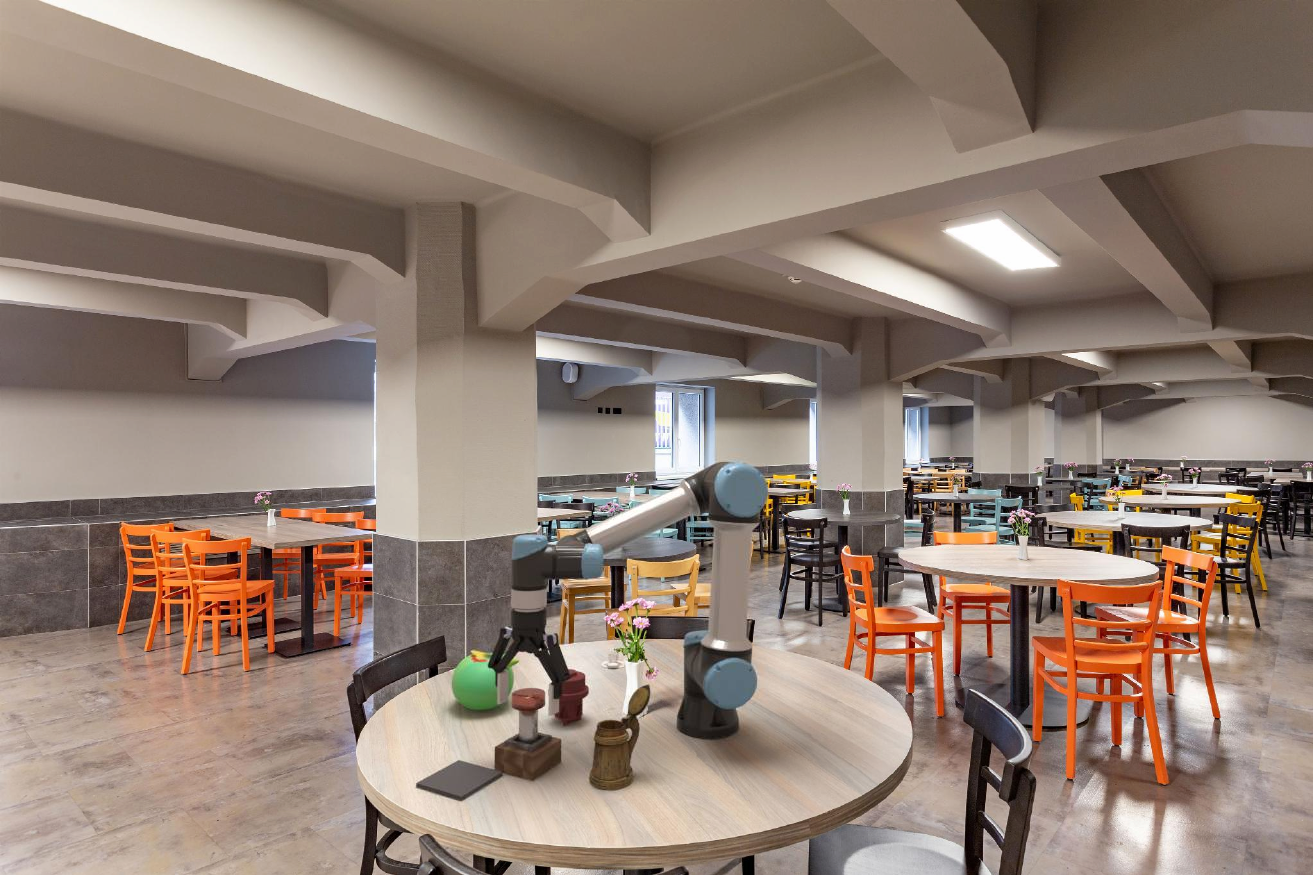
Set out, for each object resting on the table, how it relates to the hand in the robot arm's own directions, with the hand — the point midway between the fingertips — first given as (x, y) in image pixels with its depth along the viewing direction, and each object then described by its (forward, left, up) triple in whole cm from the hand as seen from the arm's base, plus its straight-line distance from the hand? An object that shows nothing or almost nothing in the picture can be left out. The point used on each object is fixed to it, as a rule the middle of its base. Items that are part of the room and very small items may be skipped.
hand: (527, 707), depth 153 cm
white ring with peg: (+23, -68, -13) cm, 73 cm away
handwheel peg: (0, 0, -12) cm, 12 cm away
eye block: (0, 0, -12) cm, 12 cm away
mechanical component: (+7, -25, -13) cm, 29 cm away
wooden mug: (-20, -5, -13) cm, 24 cm away
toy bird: (+32, -23, -13) cm, 41 cm away
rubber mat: (+8, +12, -12) cm, 19 cm away
